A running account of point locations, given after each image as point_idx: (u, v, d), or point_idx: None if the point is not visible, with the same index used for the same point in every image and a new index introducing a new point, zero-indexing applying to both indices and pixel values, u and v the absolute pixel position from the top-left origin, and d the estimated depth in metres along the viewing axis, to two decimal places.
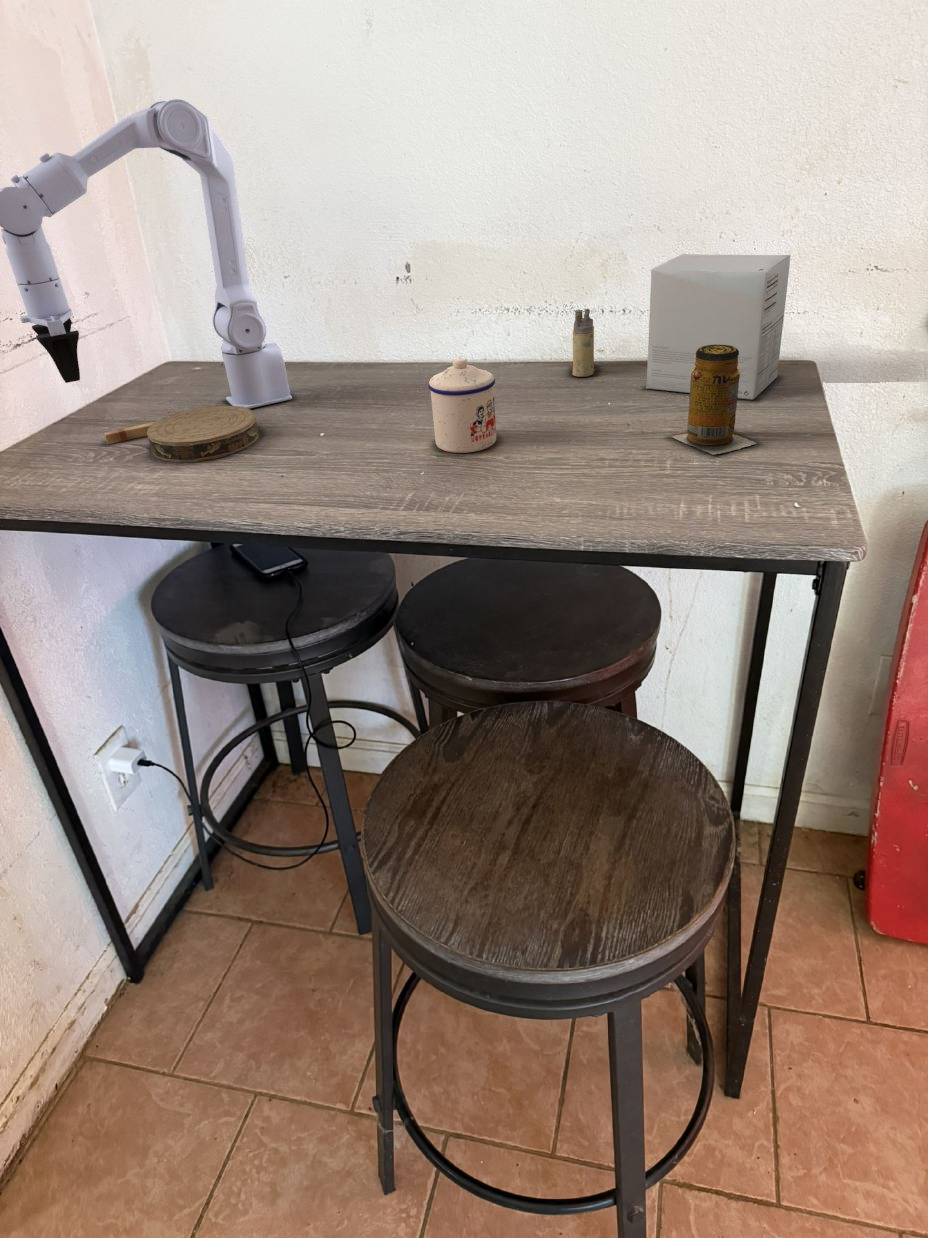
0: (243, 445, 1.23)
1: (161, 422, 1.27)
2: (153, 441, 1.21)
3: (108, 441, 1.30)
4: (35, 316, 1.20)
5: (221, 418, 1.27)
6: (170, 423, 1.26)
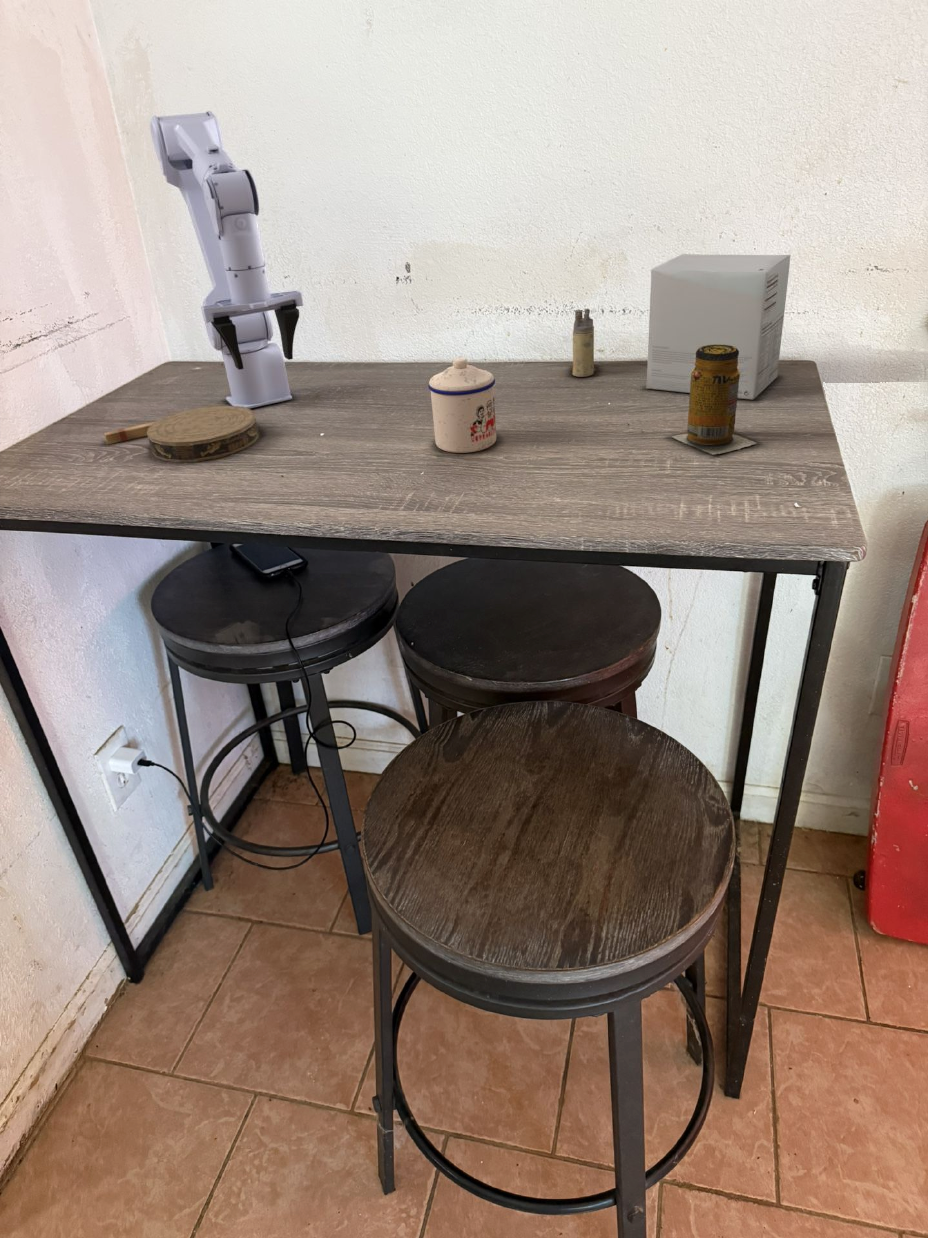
0: (243, 445, 1.23)
1: (161, 422, 1.27)
2: (153, 441, 1.21)
3: (108, 441, 1.30)
4: (268, 297, 1.21)
5: (221, 418, 1.27)
6: (170, 423, 1.26)
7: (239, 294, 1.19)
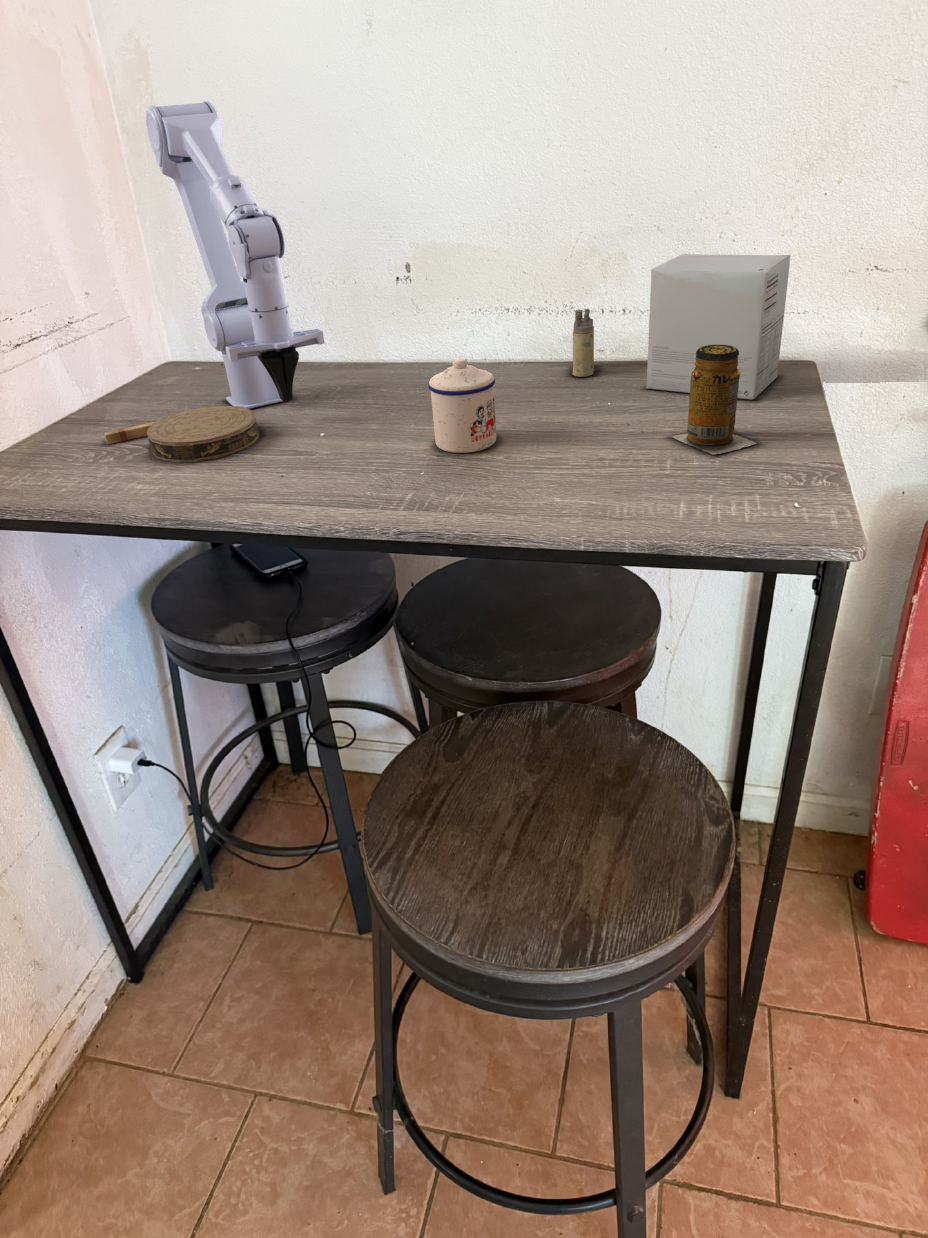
0: (243, 445, 1.23)
1: (161, 422, 1.27)
2: (153, 441, 1.21)
3: (108, 441, 1.30)
4: (291, 337, 1.24)
5: (221, 418, 1.27)
6: (170, 423, 1.26)
7: (263, 334, 1.22)
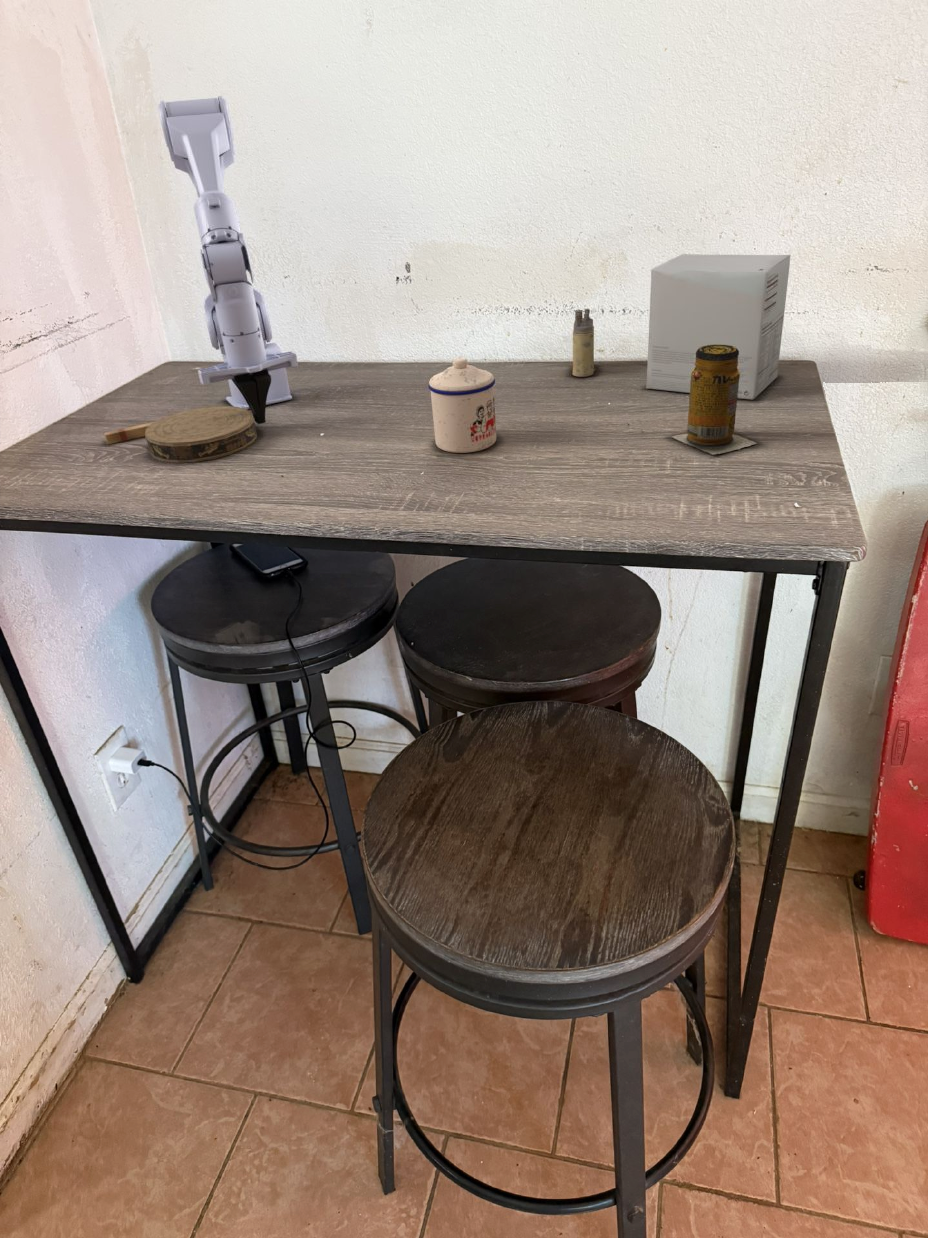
0: (241, 445, 1.23)
1: (159, 422, 1.27)
2: (151, 441, 1.21)
3: (108, 441, 1.30)
4: (264, 360, 1.24)
5: (219, 418, 1.27)
6: (168, 424, 1.26)
7: (236, 358, 1.22)
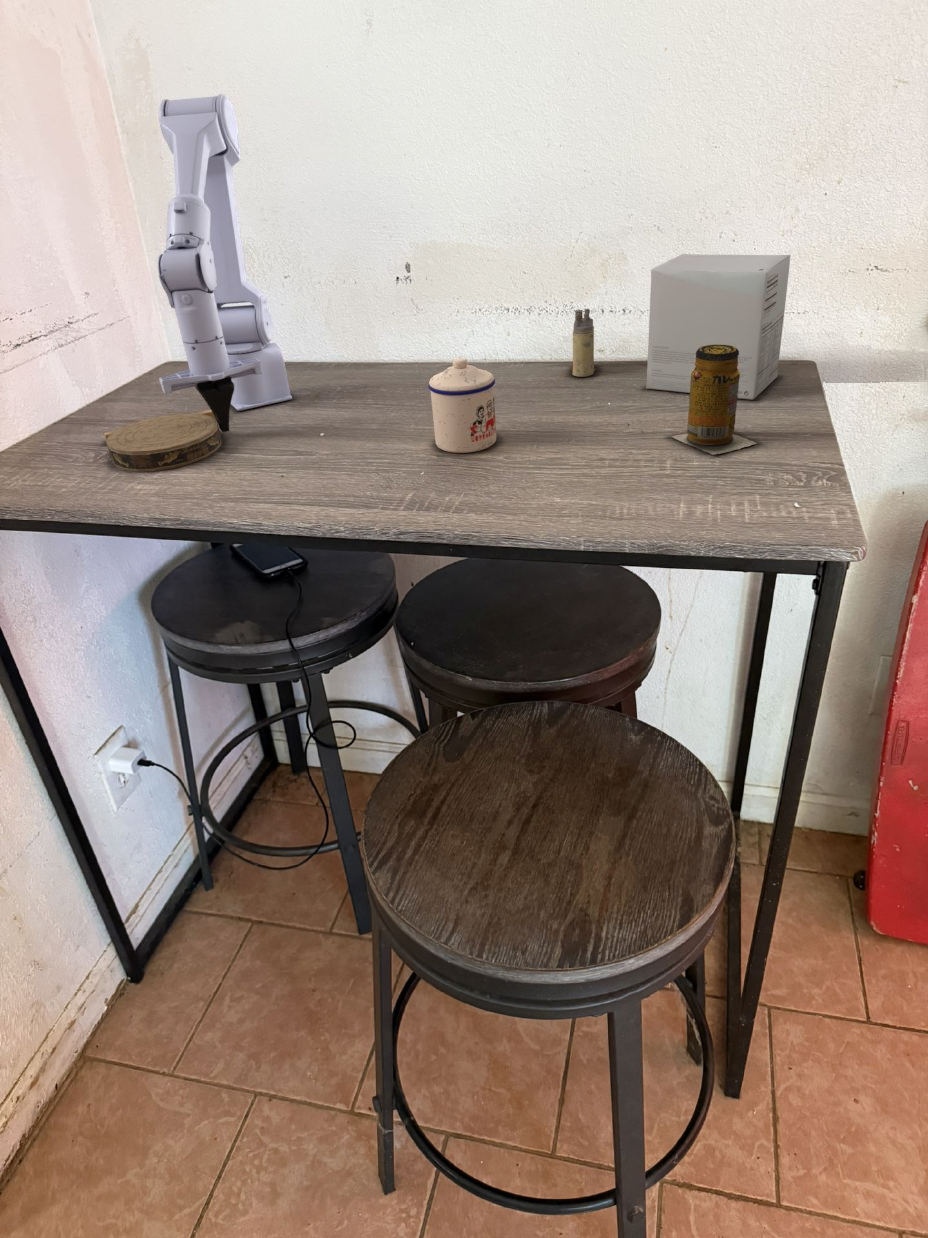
0: (203, 454, 1.21)
1: (123, 430, 1.26)
2: (111, 450, 1.20)
3: None
4: (227, 368, 1.22)
5: (182, 426, 1.25)
6: (131, 431, 1.25)
7: (197, 366, 1.20)
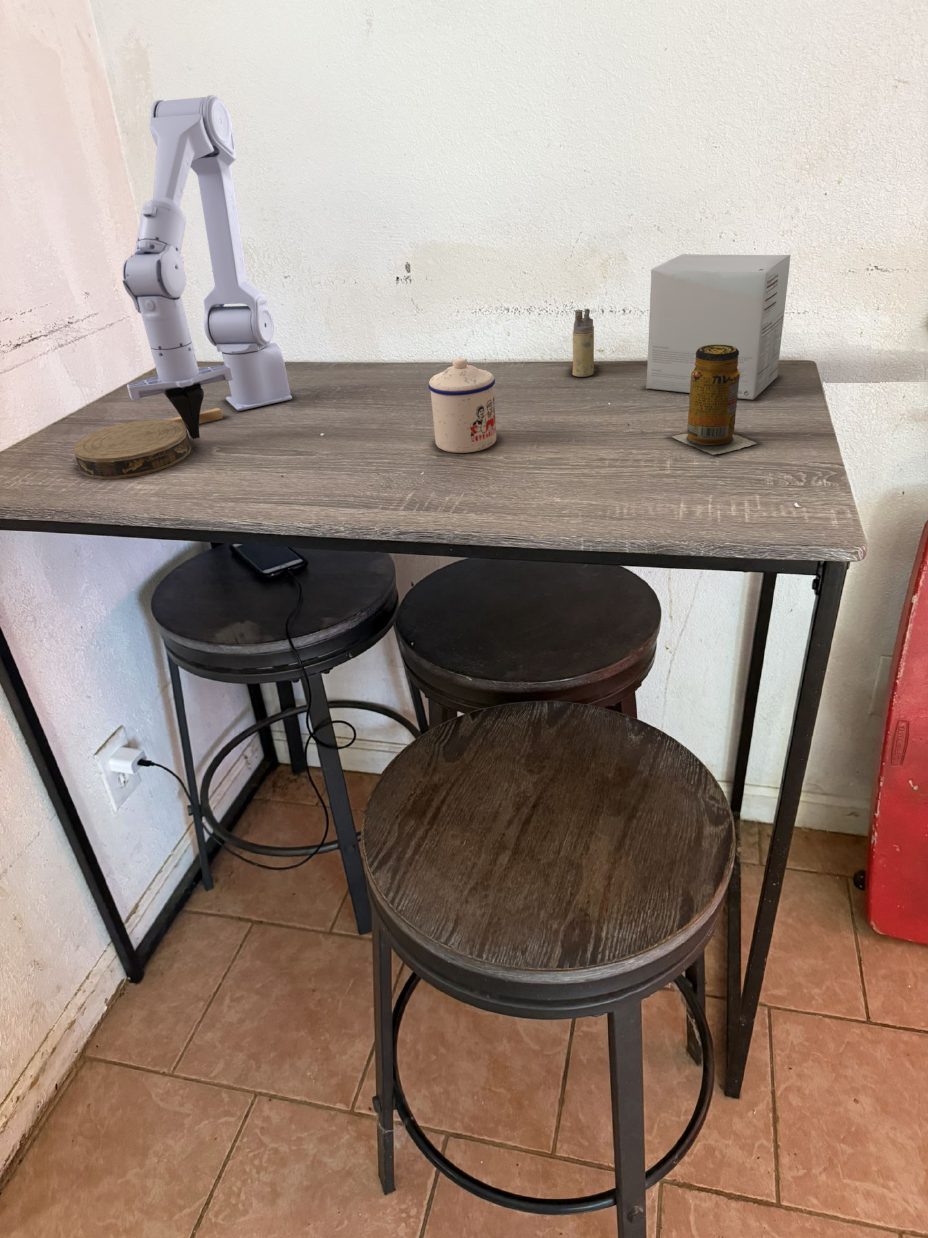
0: (169, 462, 1.19)
1: (91, 436, 1.24)
2: (77, 456, 1.18)
3: None
4: (195, 374, 1.20)
5: (151, 433, 1.23)
6: (99, 438, 1.23)
7: (165, 372, 1.18)
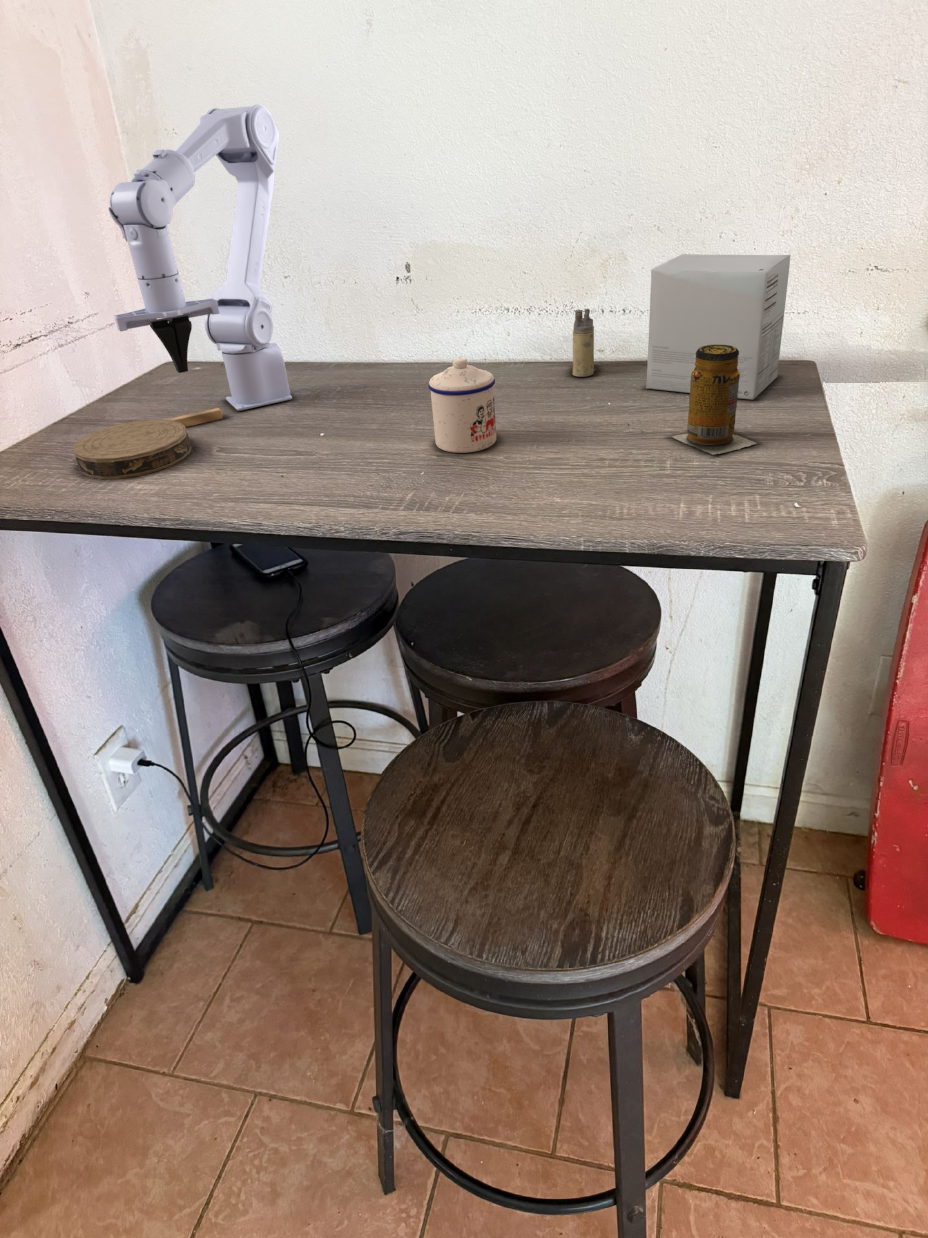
0: (169, 462, 1.19)
1: (91, 436, 1.24)
2: (77, 456, 1.18)
3: None
4: (182, 306, 1.22)
5: (151, 433, 1.23)
6: (99, 438, 1.23)
7: (152, 303, 1.19)
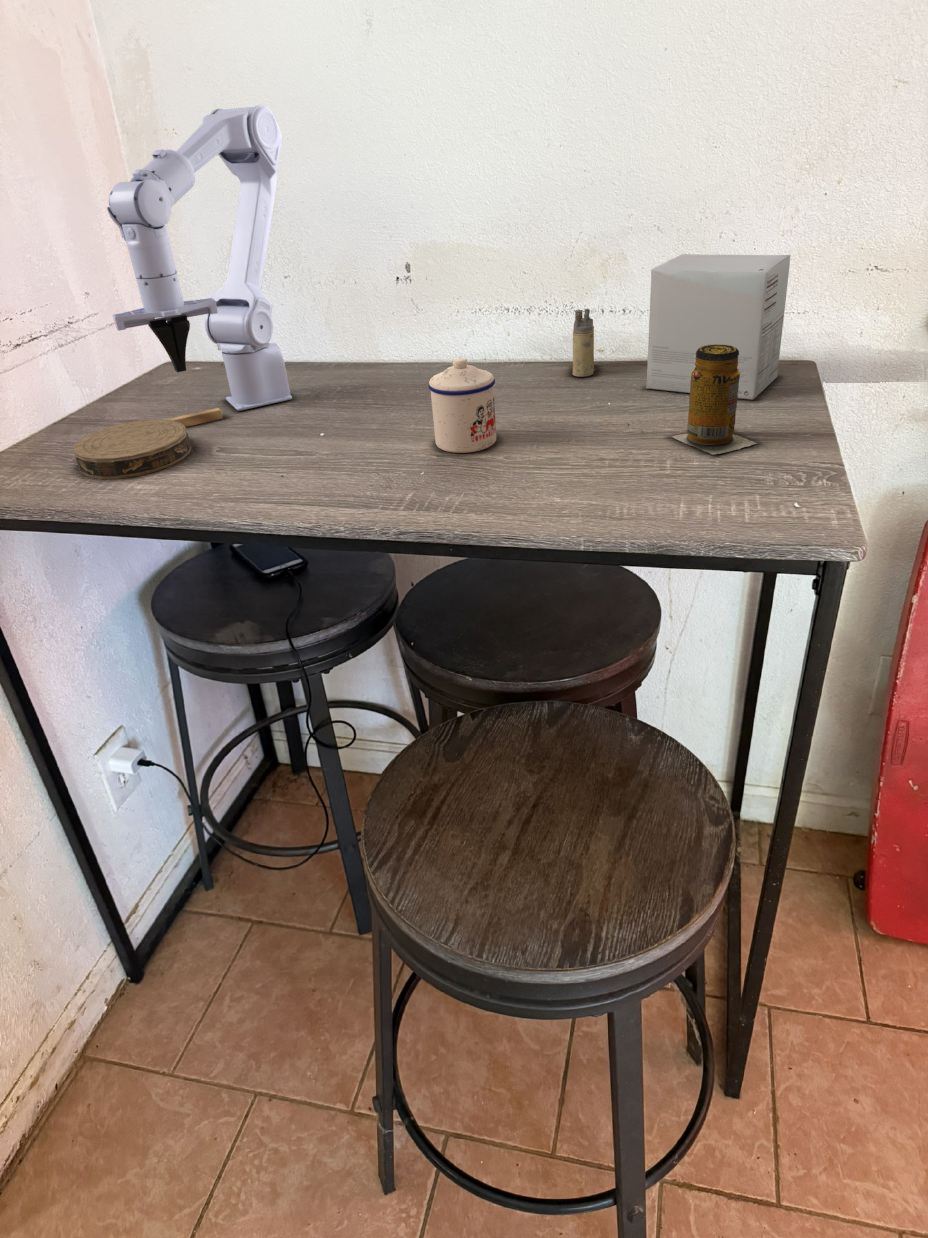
0: (169, 462, 1.19)
1: (91, 436, 1.24)
2: (77, 456, 1.18)
3: None
4: (181, 305, 1.22)
5: (151, 433, 1.23)
6: (99, 438, 1.23)
7: (150, 302, 1.20)
